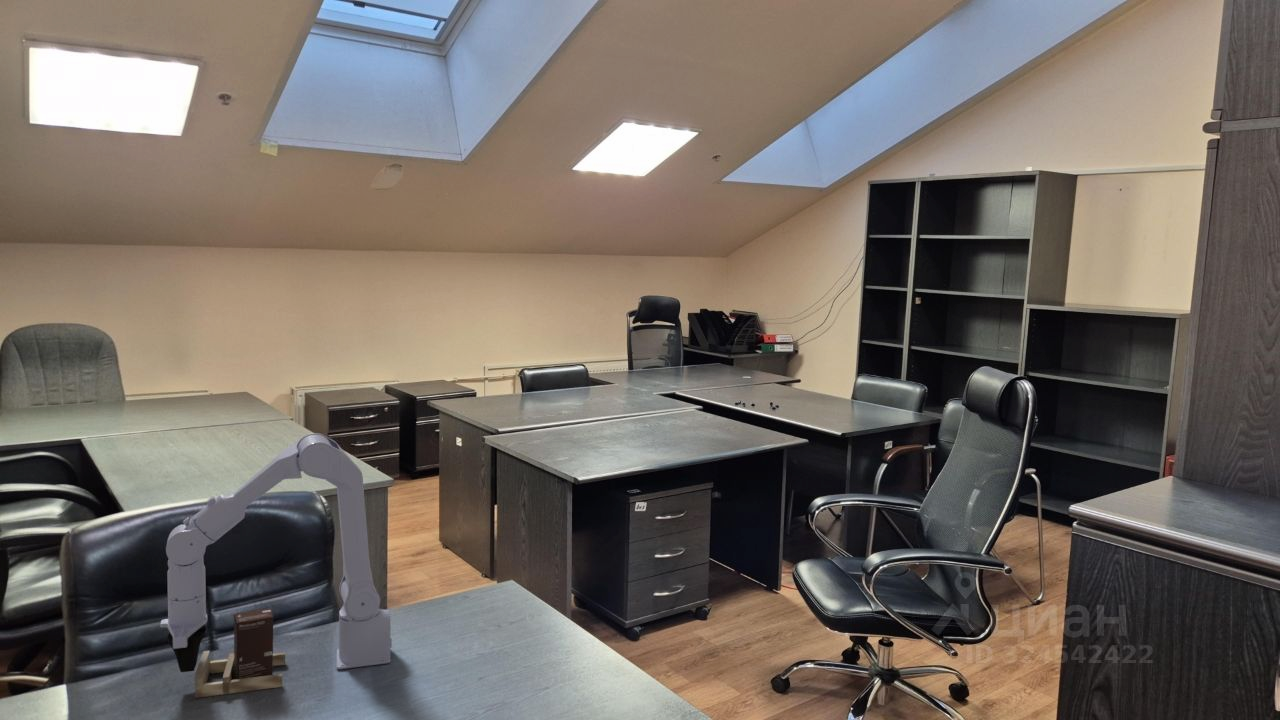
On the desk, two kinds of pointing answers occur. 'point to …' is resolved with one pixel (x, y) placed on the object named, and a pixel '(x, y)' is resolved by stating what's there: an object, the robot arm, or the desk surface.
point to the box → (253, 644)
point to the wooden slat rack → (228, 683)
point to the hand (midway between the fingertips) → (188, 669)
